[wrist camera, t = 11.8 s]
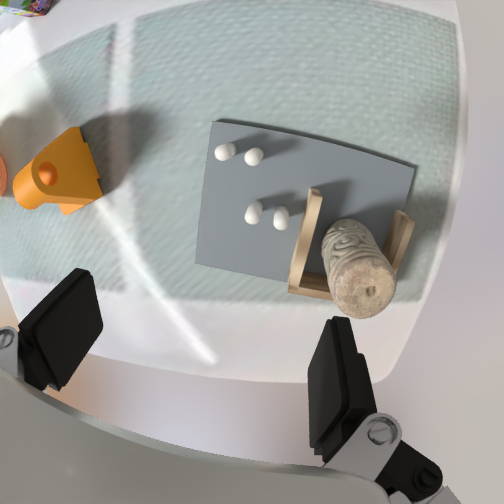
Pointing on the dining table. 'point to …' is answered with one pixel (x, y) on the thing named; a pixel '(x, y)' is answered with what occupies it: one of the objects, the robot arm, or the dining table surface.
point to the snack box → (25, 7)
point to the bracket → (59, 175)
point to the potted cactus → (2, 177)
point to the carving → (357, 270)
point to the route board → (287, 197)
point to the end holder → (297, 277)
